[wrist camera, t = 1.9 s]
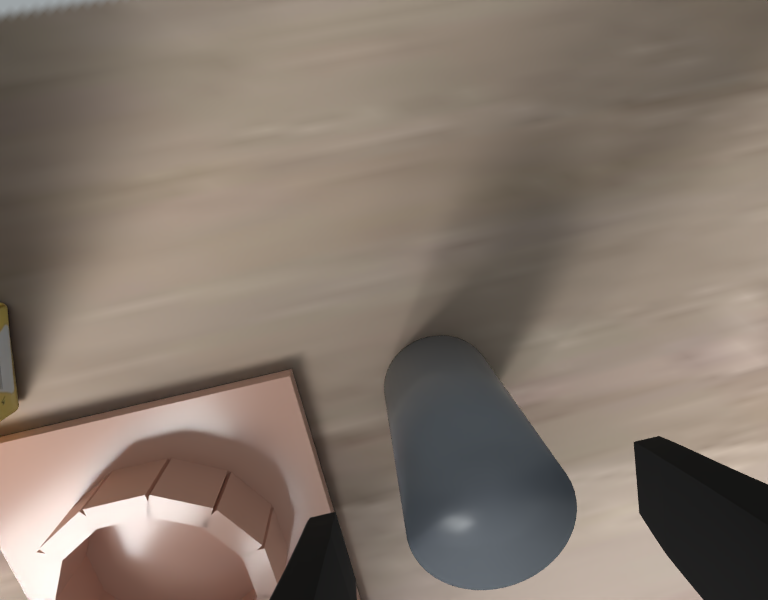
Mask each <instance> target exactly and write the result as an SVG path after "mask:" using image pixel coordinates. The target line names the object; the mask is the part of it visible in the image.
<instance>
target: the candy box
mask: <svg viewBox="0 0 768 600" xmlns="http://www.w3.org/2000/svg"><path fill="white" fill-rule="evenodd" d="M18 407H19V403H18V394H17V386H16V379H15V370H14V361H13V354H12V347H11V340H10V333H9V321H8V309H7V306H6V304H4V303H0V422H1V421H2V420H3V419H5V418H6V417H8V416H9V415H11V414H12V413H14V412H15V411H16V410H17V409H18Z"/></svg>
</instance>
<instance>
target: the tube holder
mask: <svg viewBox="0 0 768 600" xmlns="http://www.w3.org/2000/svg"><path fill="white" fill-rule="evenodd" d="M332 512H334V509H333V505H332V502H331V499H330V495H329V492H328V489H327V485H326V482H325V479H324V475H323V472H322V469H321V465H320V462H319V459H318V455H317V452H316V448H315V445H314V442H313V438H312V435H311V432H310V428H309V425H308V422H307V418H306V415H305V412H304V408H303V405H302V402H301V398H300V395H299V392H298V388H297V385H296V381H295V378H294V375H293V371H292V369H289V370H285V371H281V372H277V373H272V374H268V375H264V376H259V377H255V378H251V379H246V380H242V381H238V382H234V383H229V384H225V385H221V386H216V387H212V388H208V389H203V390H199V391H195V392H191V393H186V394H182V395H178V396H173V397H169V398H165V399H160V400H156V401H152V402H148V403H143V404H139V405H135V406H130V407H126V408H122V409H117V410H113V411H109V412H105V413H100V414H96V415H92V416H87V417H83V418H79V419H74V420H70V421H66V422H62V423H57V424H53V425H49V426H44V427H40V428H36V429H31V430H27V431H23V432H19V433H14V434H10V435H6V436H1V437H0V549H1V551H2V553H3V555H4V557H5V558H6V560H7V562H8V564H9V566H10V567H11V569H12V571H13V573H14V575H15V577H16V578H17V580H18V582H19V584H20V586H21V587H22V589H23V591H24V593H25V595H26V597H27V598H28V600H269V599H270V597H271V595H272V593H273V591H274V589H275V587H276V585H277V583H278V582H279V580H280V578H281V576H282V574H283V572H284V570H285V568H286V566H287V564H288V562H289V560H290V558H291V555H292V553H293V551H294V549H295V547H296V545H297V543H298V540H299V538H300V536H301V534H302V532H303V529H304V527H305V525H306V523H307V521H308V520H309V518H310V517H314V516H319V515H323V514H327V513H332ZM356 592H357V600H361V599H360V596H359V593H358V589H357V586H356Z"/></svg>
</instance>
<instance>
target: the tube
mask: <svg viewBox="0 0 768 600" xmlns="http://www.w3.org/2000/svg"><path fill="white" fill-rule="evenodd" d="M384 394H385V400H386V407H387V413H388V420H389V426H390V432H391V439H392V445H393V452H394V458H395V464H396V471H397V477H398V484H399V490H400V496H401V503H402V509H403V516H404V522H405V528H406V535H407V540H408V543H409V546H410V549H411V551H412V553H413V555H414V557H415V558H416V560H417V561H418V562H419V564H420V565H421V566H422V567H423V568H424V569H425V570H426V571H427V572H428V573H430V574H431V575H432V576H434V577H435V578H437V579H439V580H441V581H442V582H445V583H447V584H450V585H452V586H456V587H459V588H464V589H471V590H491V589H498V588H504V587H507V586H511V585H514V584H517V583H519V582H522V581H524V580H526V579H528V578H530V577H532V576H534V575H536V574H537V573H538V572H540V571H541V570H543V569H544V568H545V567H547V566H548V565H549V564H550V563H551V562H552V561H553V560H554V559H555V558H556V557H557V556H558V555H559V554H560V552H561V551H562V550H563V548H564V547H565V545H566V544H567V542H568V540H569V538H570V536H571V534H572V531H573V529H574V525H575V521H576V513H577V502H576V496H575V491H574V489H573V486H572V483H571V481H570V480H569V478H568V476H567V474H566V473H565V472H564V470H563V469H562V467H561V466H560V464H559V463H558V462H557V460H556V459H555V457H554V456H553V455H552V453H551V452H550V450H549V449H548V448H547V446H546V445H545V443H544V442H543V440H542V439H541V438H540V436H539V435H538V433H537V432H536V431H535V429H534V428H533V426H532V425H531V424H530V422H529V421H528V419H527V418H526V416H525V415H524V414H523V412H522V411H521V409H520V408H519V407H518V405H517V404H516V402H515V401H514V400H513V398H512V397H511V395H510V394H509V392H508V391H507V390H506V388H505V387H504V385H503V384H502V383H501V381H500V380H499V378H498V377H497V376H496V374H495V373H494V371H493V370H492V368H491V367H490V366H489V364H488V363H487V361H486V360H485V359H484V357H483V356H482V355H481V353H480V352H479V351H478V350H477V349H476V348H475V347H474V346H472V345H471V344H469V343H468V342H466V341H464V340H461V339H459V338H456V337H451V336H431V337H426V338H423V339H420V340H417V341H415V342H413V343H411V344H410V345H408V346H407V347H405V348H404V349H403V350H402V351H401V352H400V353H399V354H398V355H397V356H396V357H395V358H394V360H393V361H392V363H391V364H390V366H389V368H388V371H387V373H386V377H385V382H384Z"/></svg>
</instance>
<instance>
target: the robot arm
mask: <svg viewBox="0 0 768 600" xmlns="http://www.w3.org/2000/svg"><path fill="white" fill-rule="evenodd" d="M634 451H635V464H636V476H637V489H638V501H639V513H640V515H641V516H642V518H643V519H644V521H645V523H646V524H647V526H648V527H649V529H650V530H651V532H652V534H653V535H654V537H655V538H656V540H657V541H658V543H659V544H660V546H661V547H662V549H663V550H664V552H665V553H666V554H667V556H668V557H669V558H670V559H671V561H672V562H673V563H674V564H675V566H676V567H677V568H678V569H679V571H680V572H681V573H682V574H683V575H684V577H685V578H686V579H687V580H688V582H689V583H690V584H691V585H692V586H693V588H694V589H695V590H696V591H697V592H698V594H699V595H700V596H701V597H702V598H703V600H768V484H765V483H763V482H761V481H759V480H756V479H754V478H752V477H749V476H747V475H745V474H743V473H740V472H738V471H736V470H734V469H731V468H729V467H727V466H725V465H723V464H720V463H718V462H716V461H714V460H712V459H710V458H707V457H705V456H703V455H701V454H699V453H696V452H694V451H692V450H690V449H688V448H686V447H683V446H681V445H679V444H677V443H674V442H672V441H670V440H667V439H665V438H662V437H660V436H657V437H653V438H649V439H645V440H640V441H636V442H634ZM269 600H357V592H356V579H355V576H354V573H353V569H352V566H351V563H350V559H349V556H348V553H347V549H346V546H345V543H344V539H343V536H342V533H341V529H340V526H339V523H338V519H337V516H336V513H335V512H332V513H327V514H323V515H319V516H314V517H310V518H309V520H308V521H307V523H306V525H305V527H304V529H303V532H302V534H301V536H300V538H299V540H298V543H297V545H296V547H295V549H294V551H293V553H292V555H291V558H290V560H289V562H288V564H287V566H286V568H285V570H284V572H283V574H282V576H281V578H280V580H279V582H278V583H277V585H276V587H275V589H274V591H273V593H272V595H271V597H270V599H269Z"/></svg>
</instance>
